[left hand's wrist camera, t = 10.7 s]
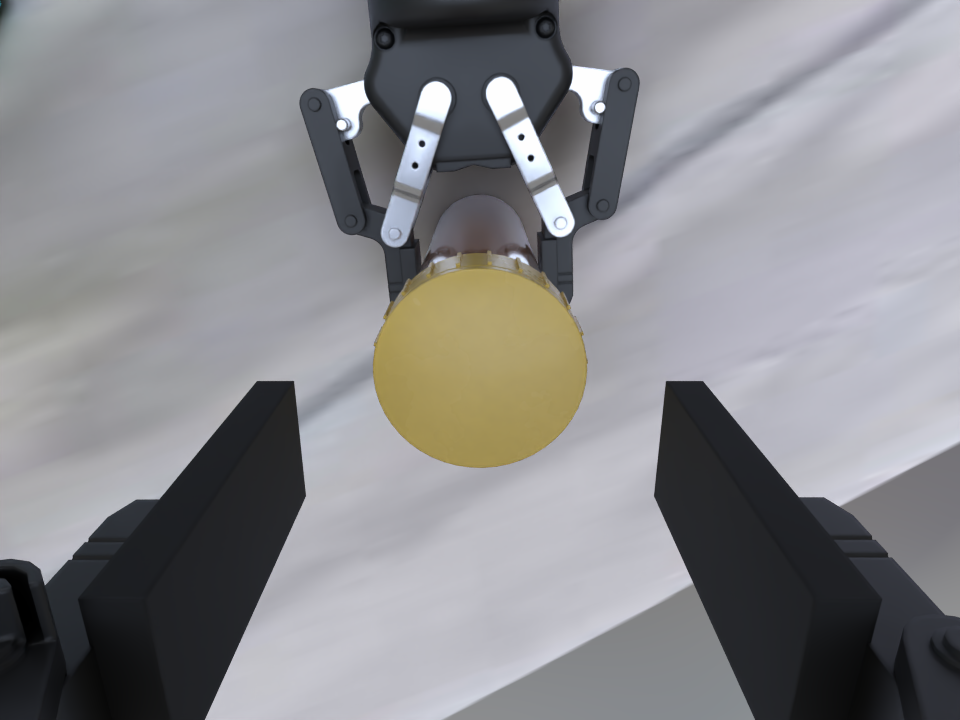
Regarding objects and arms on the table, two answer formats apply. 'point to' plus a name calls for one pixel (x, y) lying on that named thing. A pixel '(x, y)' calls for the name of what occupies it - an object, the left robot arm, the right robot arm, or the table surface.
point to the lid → (480, 361)
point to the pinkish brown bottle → (480, 231)
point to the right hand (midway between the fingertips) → (483, 317)
